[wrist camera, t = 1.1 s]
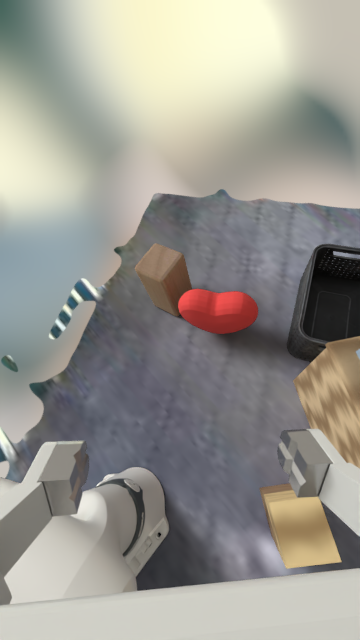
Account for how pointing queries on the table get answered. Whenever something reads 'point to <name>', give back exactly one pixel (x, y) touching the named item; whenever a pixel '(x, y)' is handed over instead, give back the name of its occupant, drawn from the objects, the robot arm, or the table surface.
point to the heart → (218, 310)
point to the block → (164, 277)
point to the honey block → (301, 530)
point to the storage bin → (326, 302)
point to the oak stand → (334, 396)
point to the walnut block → (273, 490)
